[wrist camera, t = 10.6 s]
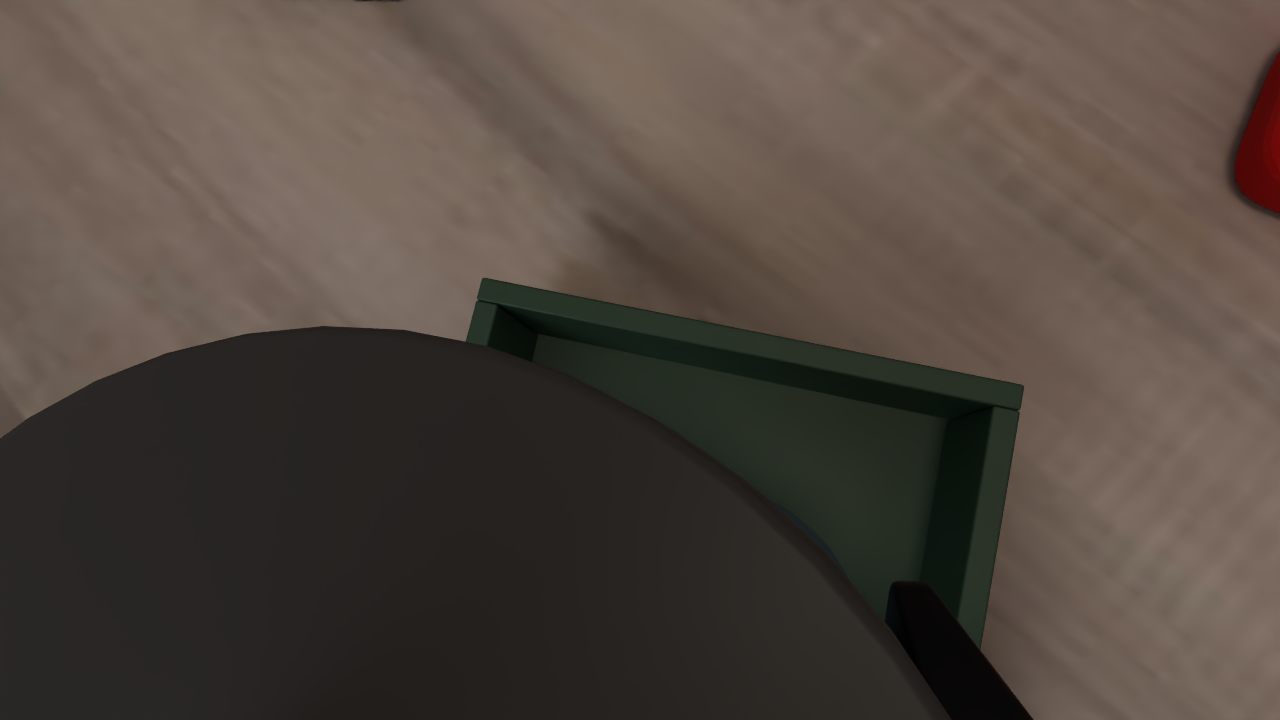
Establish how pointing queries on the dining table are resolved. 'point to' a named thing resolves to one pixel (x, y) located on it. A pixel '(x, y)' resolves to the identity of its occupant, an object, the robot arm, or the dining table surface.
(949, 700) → the robot arm
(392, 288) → the dining table surface
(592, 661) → the cup with straw
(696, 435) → the bin
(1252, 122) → the popsicle
